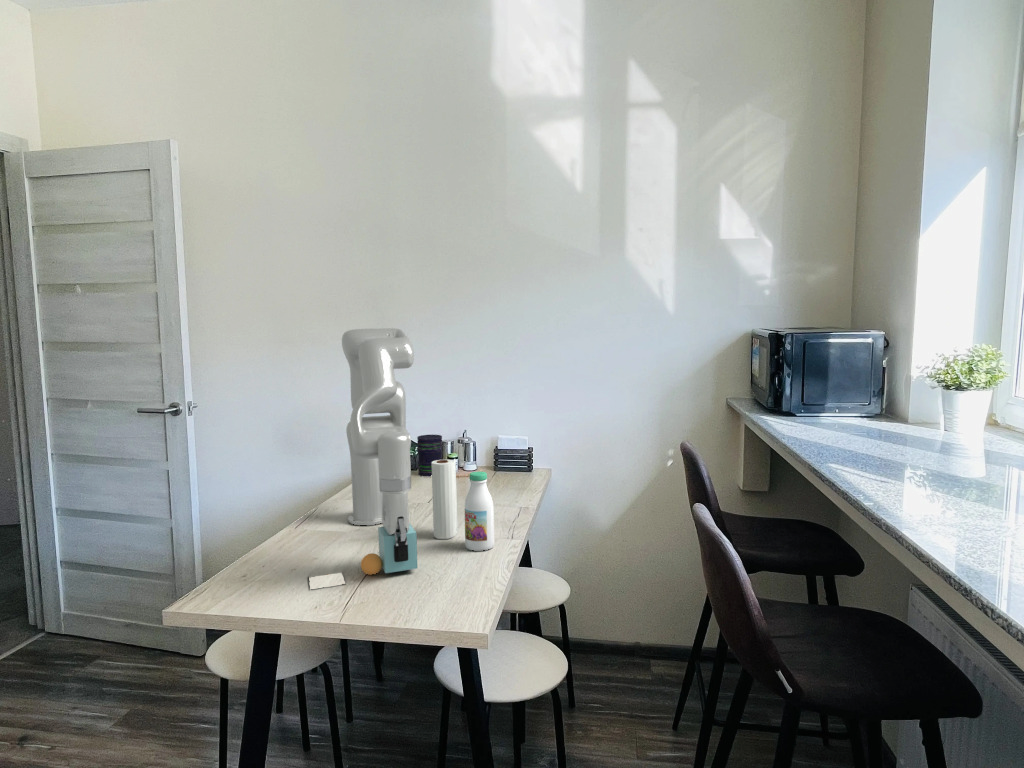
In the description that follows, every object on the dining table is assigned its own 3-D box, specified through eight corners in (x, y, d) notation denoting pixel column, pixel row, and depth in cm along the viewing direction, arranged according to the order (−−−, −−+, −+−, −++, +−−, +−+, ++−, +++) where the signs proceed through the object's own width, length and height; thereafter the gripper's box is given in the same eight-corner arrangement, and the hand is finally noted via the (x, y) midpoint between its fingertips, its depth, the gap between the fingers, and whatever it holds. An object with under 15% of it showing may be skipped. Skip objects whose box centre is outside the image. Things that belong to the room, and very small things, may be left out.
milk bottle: (478, 540, 178) (477, 468, 177) (500, 545, 174) (498, 472, 172) (459, 547, 173) (457, 473, 171) (480, 554, 168) (479, 477, 166)
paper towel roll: (435, 540, 178) (433, 464, 176) (432, 534, 184) (429, 459, 182) (461, 538, 180) (459, 462, 178) (457, 531, 186) (455, 457, 184)
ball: (366, 574, 158) (355, 558, 156) (384, 562, 159) (373, 546, 158) (369, 582, 153) (358, 565, 152) (387, 569, 154) (376, 553, 153)
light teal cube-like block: (379, 562, 160) (378, 527, 159) (410, 557, 163) (409, 523, 162) (385, 573, 153) (383, 536, 152) (417, 568, 155) (416, 532, 155)
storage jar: (413, 476, 254) (412, 438, 252) (424, 470, 263) (423, 434, 262) (437, 477, 251) (435, 439, 249) (447, 471, 260) (446, 435, 258)
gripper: (373, 477, 162) (376, 546, 164) (386, 494, 146) (389, 570, 148) (403, 474, 165) (405, 541, 167) (419, 490, 149) (421, 565, 151)
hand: (397, 554), depth 157 cm, fingers closed on light teal cube-like block, 7 cm apart
